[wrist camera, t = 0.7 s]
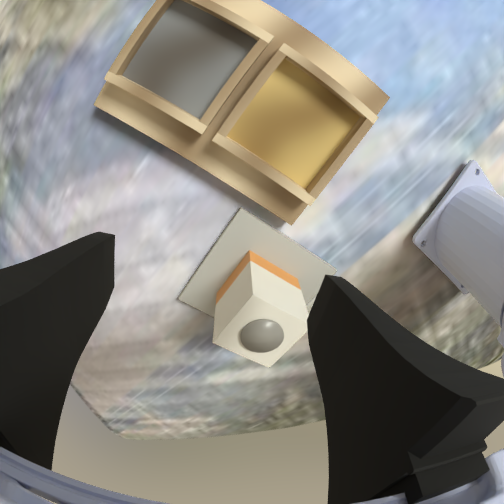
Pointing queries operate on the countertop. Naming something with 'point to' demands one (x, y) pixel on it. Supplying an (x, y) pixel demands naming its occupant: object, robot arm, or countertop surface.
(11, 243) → the countertop surface
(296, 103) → the socket block
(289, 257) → the mat
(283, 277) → the cube with grey knob
